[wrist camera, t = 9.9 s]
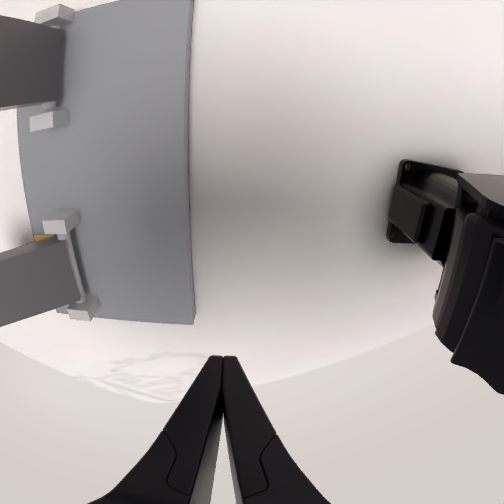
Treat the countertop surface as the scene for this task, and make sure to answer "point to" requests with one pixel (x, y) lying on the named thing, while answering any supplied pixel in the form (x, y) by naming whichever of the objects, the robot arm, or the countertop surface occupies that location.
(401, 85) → the countertop surface
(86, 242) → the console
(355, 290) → the countertop surface
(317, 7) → the countertop surface
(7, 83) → the switch
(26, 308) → the switch
